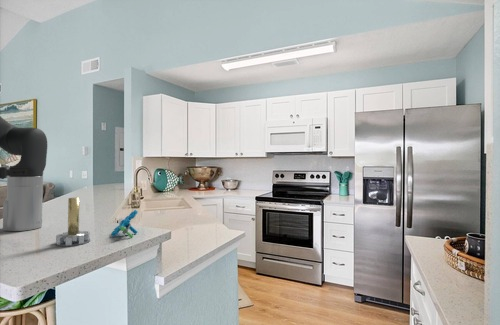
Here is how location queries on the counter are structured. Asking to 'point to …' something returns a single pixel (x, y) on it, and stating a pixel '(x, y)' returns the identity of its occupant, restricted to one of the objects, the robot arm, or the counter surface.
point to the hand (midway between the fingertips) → (29, 170)
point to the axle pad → (73, 244)
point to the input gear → (73, 226)
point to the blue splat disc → (126, 225)
